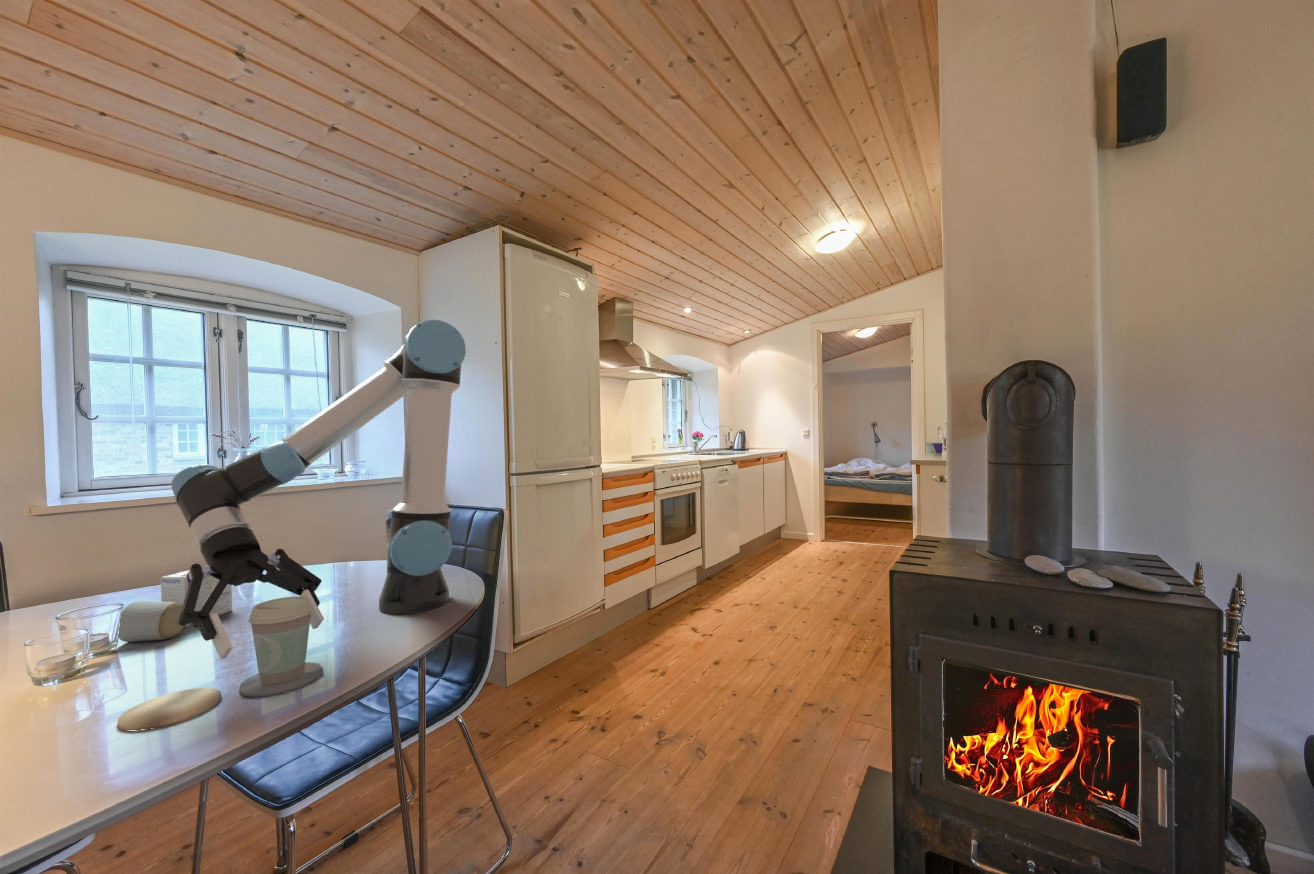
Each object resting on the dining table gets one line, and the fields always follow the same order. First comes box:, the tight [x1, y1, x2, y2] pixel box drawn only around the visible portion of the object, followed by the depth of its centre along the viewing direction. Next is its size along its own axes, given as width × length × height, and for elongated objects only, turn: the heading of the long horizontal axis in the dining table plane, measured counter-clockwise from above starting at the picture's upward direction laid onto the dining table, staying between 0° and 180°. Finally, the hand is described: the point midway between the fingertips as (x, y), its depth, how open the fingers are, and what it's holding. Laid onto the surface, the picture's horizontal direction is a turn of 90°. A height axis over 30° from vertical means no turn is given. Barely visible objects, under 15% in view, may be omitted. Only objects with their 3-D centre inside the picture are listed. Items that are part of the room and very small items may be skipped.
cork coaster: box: [117, 687, 222, 731], centre depth 75 cm, size 11×11×1 cm
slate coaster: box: [238, 661, 324, 699], centre depth 84 cm, size 11×11×1 cm
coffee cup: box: [248, 595, 313, 685], centre depth 84 cm, size 8×8×12 cm
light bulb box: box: [160, 564, 233, 627], centre depth 116 cm, size 11×7×11 cm, turn 172°
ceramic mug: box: [117, 600, 188, 643], centre depth 106 cm, size 11×8×8 cm
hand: (276, 637), depth 85 cm, fingers open, 13 cm apart
